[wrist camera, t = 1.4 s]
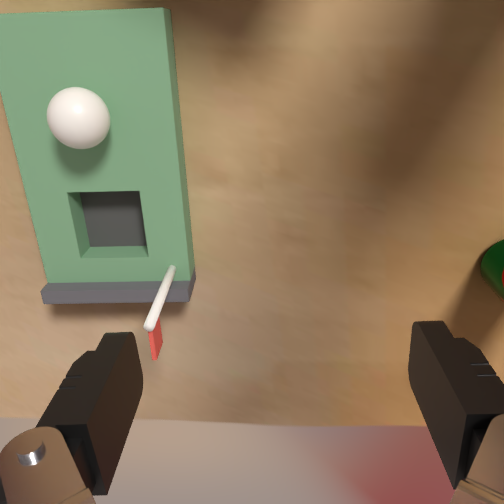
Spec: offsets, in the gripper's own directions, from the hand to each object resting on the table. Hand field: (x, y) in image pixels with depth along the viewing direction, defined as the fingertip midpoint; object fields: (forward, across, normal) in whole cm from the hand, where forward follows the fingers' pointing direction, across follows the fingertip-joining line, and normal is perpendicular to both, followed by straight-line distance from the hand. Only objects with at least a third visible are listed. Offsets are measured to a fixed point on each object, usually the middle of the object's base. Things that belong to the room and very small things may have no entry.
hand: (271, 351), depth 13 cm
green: (+25, +13, -1) cm, 28 cm away
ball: (+21, +12, -4) cm, 24 cm away
